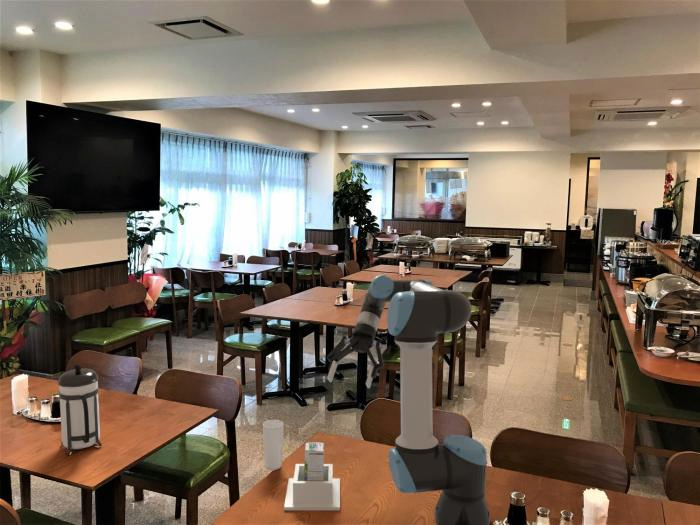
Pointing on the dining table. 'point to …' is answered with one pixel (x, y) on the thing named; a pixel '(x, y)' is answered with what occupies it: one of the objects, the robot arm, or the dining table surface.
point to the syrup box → (314, 461)
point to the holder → (313, 491)
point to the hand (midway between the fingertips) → (348, 383)
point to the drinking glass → (273, 443)
